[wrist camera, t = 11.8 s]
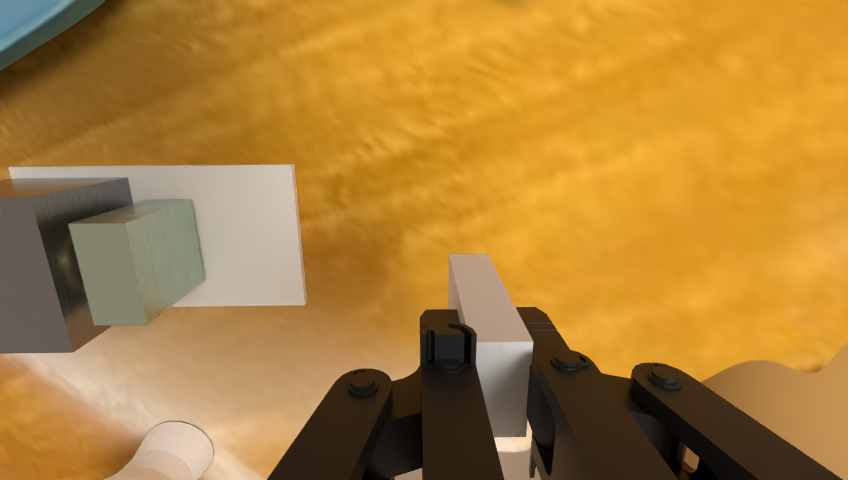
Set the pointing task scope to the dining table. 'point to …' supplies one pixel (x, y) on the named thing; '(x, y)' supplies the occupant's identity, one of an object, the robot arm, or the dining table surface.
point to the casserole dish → (36, 24)
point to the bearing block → (48, 260)
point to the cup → (169, 454)
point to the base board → (223, 225)
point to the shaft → (137, 260)
